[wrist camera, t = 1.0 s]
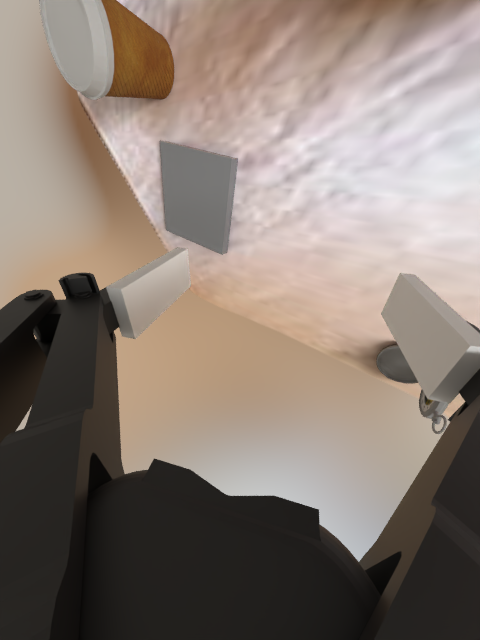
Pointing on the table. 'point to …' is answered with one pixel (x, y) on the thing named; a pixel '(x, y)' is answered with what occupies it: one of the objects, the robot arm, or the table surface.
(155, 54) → the disposable coffee cup
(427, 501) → the robot arm
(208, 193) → the slate tile
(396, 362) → the pocket watch
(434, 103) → the table surface
